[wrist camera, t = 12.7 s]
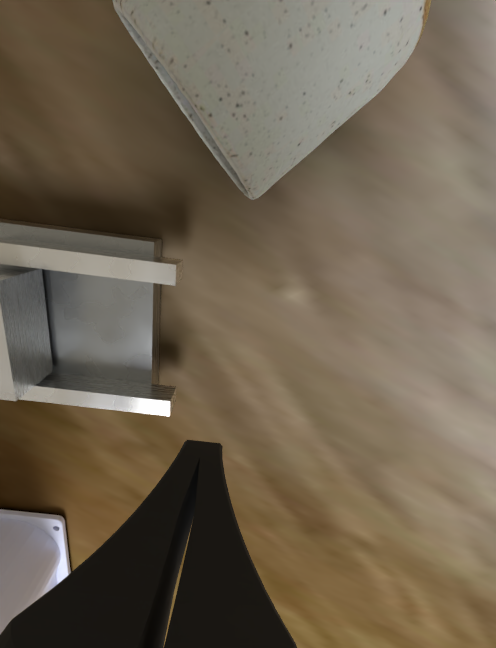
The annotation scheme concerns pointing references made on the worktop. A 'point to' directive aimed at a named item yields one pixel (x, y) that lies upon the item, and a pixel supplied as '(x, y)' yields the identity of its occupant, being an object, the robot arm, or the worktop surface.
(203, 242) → the worktop surface
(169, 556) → the robot arm
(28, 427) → the worktop surface
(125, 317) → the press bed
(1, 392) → the block
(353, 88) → the ceramic mug
